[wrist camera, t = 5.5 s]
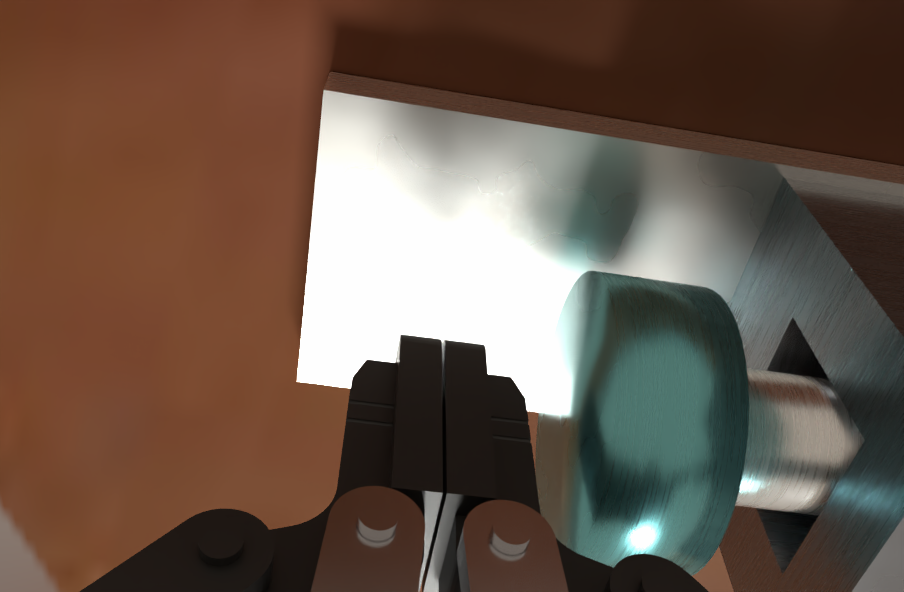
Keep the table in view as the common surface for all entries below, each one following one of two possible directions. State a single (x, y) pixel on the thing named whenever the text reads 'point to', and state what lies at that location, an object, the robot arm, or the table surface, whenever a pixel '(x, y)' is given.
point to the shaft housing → (621, 273)
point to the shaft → (673, 425)
